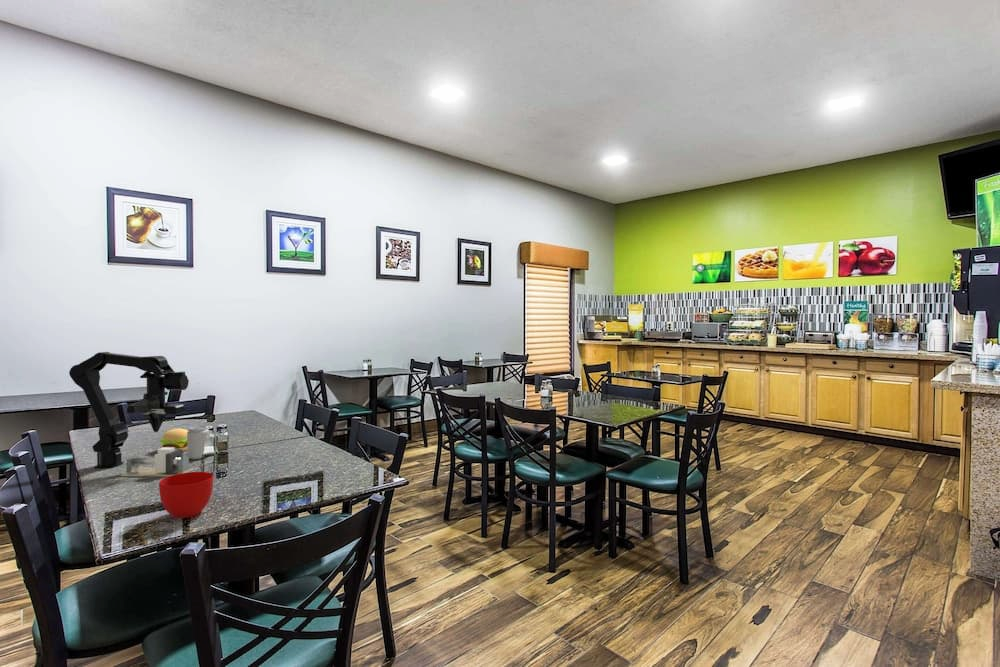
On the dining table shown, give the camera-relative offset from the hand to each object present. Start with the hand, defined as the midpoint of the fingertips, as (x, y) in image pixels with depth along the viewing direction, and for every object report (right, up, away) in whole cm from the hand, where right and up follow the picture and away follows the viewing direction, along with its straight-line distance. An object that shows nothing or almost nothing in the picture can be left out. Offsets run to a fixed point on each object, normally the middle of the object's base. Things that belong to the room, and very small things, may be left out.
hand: (156, 431), depth 189 cm
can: (+9, -13, +11) cm, 19 cm away
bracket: (+10, -13, -9) cm, 18 cm away
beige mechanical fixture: (+7, -13, -9) cm, 17 cm away
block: (+13, -13, -9) cm, 20 cm away
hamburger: (-7, -12, +23) cm, 27 cm away
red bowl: (+40, -14, -45) cm, 62 cm away
